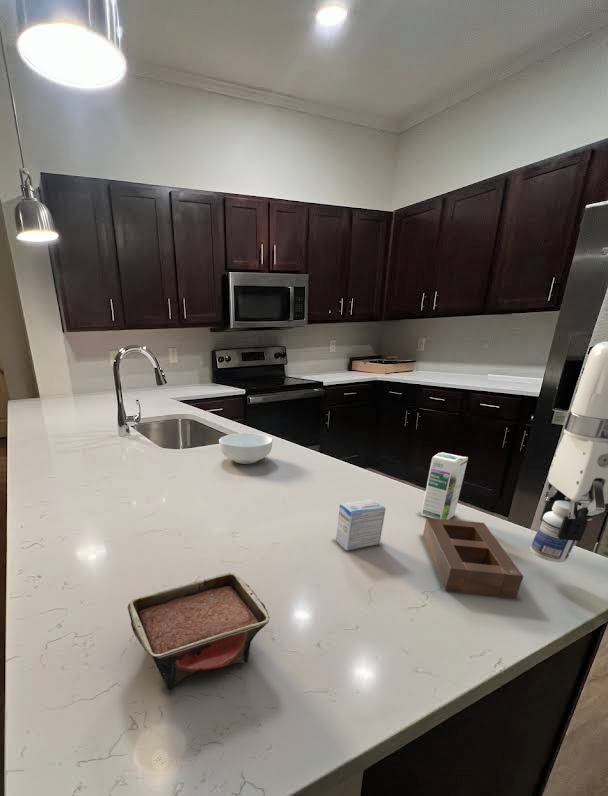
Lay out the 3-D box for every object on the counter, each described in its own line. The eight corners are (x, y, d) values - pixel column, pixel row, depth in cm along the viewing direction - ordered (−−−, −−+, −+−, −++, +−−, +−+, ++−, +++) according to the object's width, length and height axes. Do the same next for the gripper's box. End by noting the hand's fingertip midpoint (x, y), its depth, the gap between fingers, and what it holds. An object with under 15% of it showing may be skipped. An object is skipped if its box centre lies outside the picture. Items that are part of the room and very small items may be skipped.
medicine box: (367, 535, 89) (372, 498, 86) (380, 545, 85) (386, 506, 82) (334, 541, 87) (338, 503, 84) (346, 551, 83) (351, 512, 80)
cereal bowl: (278, 455, 139) (279, 435, 137) (261, 471, 126) (262, 449, 123) (231, 450, 146) (231, 430, 143) (210, 464, 132) (210, 443, 129)
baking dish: (269, 681, 57) (280, 616, 54) (137, 705, 50) (141, 633, 47) (231, 621, 69) (238, 566, 67) (121, 634, 63) (124, 574, 60)
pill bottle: (547, 546, 76) (568, 498, 72) (574, 562, 72) (598, 511, 68) (522, 547, 76) (541, 498, 72) (547, 564, 71) (570, 512, 67)
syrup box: (419, 515, 98) (431, 456, 92) (430, 508, 101) (442, 450, 95) (444, 523, 94) (458, 462, 88) (455, 515, 97) (469, 456, 92)
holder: (478, 542, 86) (483, 522, 84) (515, 598, 69) (523, 576, 67) (422, 536, 88) (426, 517, 87) (445, 590, 71) (450, 568, 70)
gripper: (666, 443, 56) (615, 559, 63) (593, 415, 71) (559, 511, 78) (601, 440, 57) (558, 553, 65) (543, 413, 73) (514, 507, 80)
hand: (559, 529), depth 71 cm, fingers closed on pill bottle, 5 cm apart
